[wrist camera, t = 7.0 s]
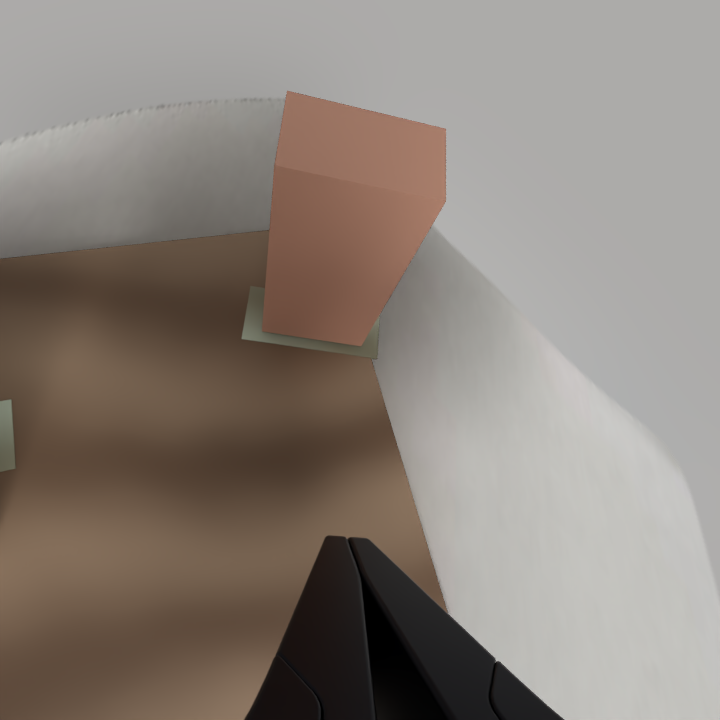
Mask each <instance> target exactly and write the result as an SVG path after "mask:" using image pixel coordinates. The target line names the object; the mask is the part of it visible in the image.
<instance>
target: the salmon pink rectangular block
mask: <svg viewBox="0 0 720 720" xmlns="http://www.w3.org/2000/svg"><path fill="white" fill-rule="evenodd" d="M445 202H446V129H444V128H440V127H436V126H431V125H427V124H424V123H419V122H415V121H411V120H407V119H403V118H398V117H394V116H390V115H386V114H382V113H378V112H373V111H369V110H365V109H361V108H357V107H352V106H349V105H344V104H340V103H336V102H331V101H327V100H324V99H319V98H315V97H311V96H307V95H303V94H299V93H294V92H290V91H287V95H286V100H285V106H284V112H283V118H282V124H281V130H280V135H279V141H278V147H277V153H276V159H275V165H274V178H273V191H272V204H271V217H270V230H269V243H268V256H267V270H266V283H265V296H264V309H263V322H262V332H269V333H276V334H282V335H289V336H296V337H302V338H309V339H316V340H322V341H329V342H336V343H342V344H349V345H356V346H362V344H363V342H364V341H365V339H366V337H367V335H368V334H369V332H370V330H371V329H372V327H373V325H374V323H375V322H376V320H377V318H378V317H379V315H380V313H381V312H382V310H383V308H384V306H385V305H386V303H387V301H388V300H389V298H390V296H391V294H392V293H393V291H394V289H395V288H396V286H397V284H398V282H399V281H400V279H401V277H402V276H403V274H404V272H405V270H406V269H407V267H408V265H409V264H410V262H411V260H412V259H413V257H414V255H415V253H416V252H417V250H418V248H419V247H420V245H421V243H422V241H423V240H424V238H425V236H426V235H427V233H428V231H429V229H430V228H431V226H432V224H433V223H434V221H435V219H436V218H437V216H438V214H439V212H440V211H441V209H442V207H443V205H444V204H445Z"/></svg>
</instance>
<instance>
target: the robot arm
mask: <svg viewBox="0 0 720 720" xmlns="http://www.w3.org/2000/svg"><path fill="white" fill-rule="evenodd" d="M495 662H496V660H495V658H494V657H493V656H492V655H491V654H490V653H489V652H488V651H487V650H486V649H485V648H484V647H483V646H482V645H481V644H479V643H478V642H477V641H476V640H475V639H474V638H473V637H472V636H471V635H470V634H469V633H468V632H467V631H466V630H465V629H464V628H463V627H462V626H460V625H459V624H458V623H457V622H456V621H455V620H454V619H453V618H452V617H451V616H450V615H449V614H448V613H447V612H446V611H445V610H444V609H443V608H441V607H440V606H439V605H438V604H437V603H436V602H435V601H434V600H433V599H432V598H431V597H430V596H429V595H428V594H427V593H426V592H425V591H423V590H422V589H421V588H420V587H419V586H418V585H417V584H416V583H415V582H414V581H413V580H412V579H411V578H410V577H409V576H408V575H407V574H406V573H404V572H403V571H402V570H401V569H400V568H399V567H398V566H397V565H396V564H395V563H394V562H393V561H392V560H391V559H390V558H389V557H388V556H387V555H385V554H384V553H383V552H382V551H381V550H380V549H379V548H378V547H377V546H376V545H375V544H374V543H373V542H372V541H371V540H369V539H368V538H361V537H349V538H348V539H347V538H346V537H344V536H333V535H328V536H326V537H325V539H324V541H323V544H322V546H321V548H320V551H319V553H318V556H317V558H316V560H315V563H314V565H313V567H312V570H311V572H310V574H309V577H308V579H307V581H306V584H305V586H304V589H303V591H302V593H301V596H300V598H299V600H298V603H297V605H296V607H295V610H294V612H293V615H292V617H291V619H290V622H289V624H288V626H287V629H286V631H285V633H284V636H283V638H282V640H281V643H280V645H279V648H278V650H277V652H276V655H275V657H274V658H273V661H272V663H271V665H270V668H269V670H268V672H267V675H266V677H265V679H264V681H263V683H262V686H261V688H260V690H259V692H258V694H257V696H256V698H255V700H254V702H253V704H252V706H251V708H250V710H249V712H248V713H247V715H246V717H245V719H244V720H564V719H563V718H562V717H561V716H559V715H558V714H557V713H556V712H555V711H553V710H552V709H551V708H550V707H549V706H547V705H546V704H545V703H544V702H543V701H542V700H541V699H540V698H539V697H537V696H536V695H535V694H534V693H533V692H532V691H531V690H530V689H529V688H528V687H526V686H525V685H524V684H523V683H522V682H521V681H520V680H519V679H518V678H517V677H515V676H514V675H513V674H512V673H511V672H510V671H509V670H508V669H507V668H506V667H505V666H504V665H503V664H502V663H501V662H499V661H497V662H496V663H495Z"/></svg>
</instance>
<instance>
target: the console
mask: <svg viewBox="0 0 720 720" xmlns="http://www.w3.org/2000/svg"><path fill="white" fill-rule="evenodd" d="M268 243H269V230H266V231H257V232H247V233H238V234H229V235H219V236H210V237H200V238H191V239H182V240H172V241H163V242H153V243H144V244H135V245H125V246H116V247H106V248H97V249H88V250H78V251H69V252H59V253H50V254H41V255H31V256H22V257H12V258H3V259H0V720H244V719H245V717H246V715H247V713H248V712H249V710H250V708H251V706H252V704H253V702H254V700H255V698H256V696H257V694H258V692H259V690H260V688H261V686H262V683H263V681H264V679H265V677H266V675H267V672H268V670H269V668H270V665H271V663H272V661H273V658H274V657H275V655H276V652H277V650H278V648H279V645H280V643H281V640H282V638H283V636H284V633H285V631H286V629H287V626H288V624H289V622H290V619H291V617H292V615H293V612H294V610H295V607H296V605H297V603H298V600H299V598H300V596H301V593H302V591H303V589H304V586H305V584H306V581H307V579H308V577H309V574H310V572H311V570H312V567H313V565H314V563H315V560H316V558H317V556H318V553H319V551H320V548H321V546H322V544H323V541H324V539H325V537H326V536H328V535H333V536H344V537H346V538H347V539H348V538H349V537H361V538H368V539H369V540H371V541H372V542H373V543H374V544H375V545H376V546H377V547H378V548H379V549H380V550H381V551H382V552H383V553H384V554H385V555H387V556H388V557H389V558H390V559H391V560H392V561H393V562H394V563H395V564H396V565H397V566H398V567H399V568H400V569H401V570H402V571H403V572H404V573H406V574H407V575H408V576H409V577H410V578H411V579H412V580H413V581H414V582H415V583H416V584H417V585H418V586H419V587H420V588H421V589H422V590H423V591H425V592H426V593H427V594H428V595H429V596H430V597H431V598H432V599H433V600H434V601H435V602H436V603H437V604H438V605H439V606H440V607H441V608H443V609H444V610H445V611H446V612H447V609H446V606H445V602H444V599H443V596H442V592H441V589H440V586H439V582H438V579H437V576H436V572H435V569H434V566H433V562H432V559H431V556H430V553H429V549H428V546H427V543H426V539H425V536H424V533H423V529H422V526H421V523H420V519H419V516H418V513H417V509H416V506H415V503H414V499H413V496H412V493H411V490H410V486H409V483H408V480H407V476H406V473H405V470H404V466H403V463H402V460H401V456H400V453H399V450H398V446H397V443H396V440H395V436H394V433H393V430H392V427H391V423H390V420H389V417H388V413H387V410H386V407H385V403H384V400H383V397H382V393H381V390H380V387H379V383H378V380H377V377H376V373H375V370H374V367H373V364H372V360H371V359H377V352H378V335H379V318H380V315H379V317H378V318H377V320H376V322H375V323H374V325H373V327H372V329H371V330H370V332H369V334H368V335H367V337H366V339H365V341H364V342H363V344H362V346H356V345H349V344H342V343H336V342H329V341H322V340H316V339H309V338H302V337H296V336H289V335H282V334H276V333H269V332H262V322H263V309H264V296H265V283H266V270H267V256H268ZM447 613H448V612H447Z"/></svg>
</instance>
